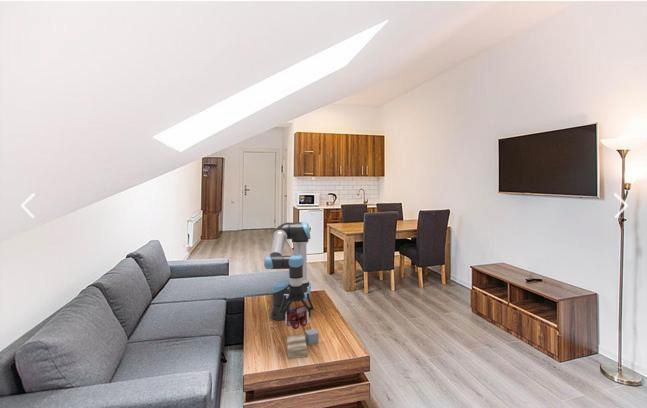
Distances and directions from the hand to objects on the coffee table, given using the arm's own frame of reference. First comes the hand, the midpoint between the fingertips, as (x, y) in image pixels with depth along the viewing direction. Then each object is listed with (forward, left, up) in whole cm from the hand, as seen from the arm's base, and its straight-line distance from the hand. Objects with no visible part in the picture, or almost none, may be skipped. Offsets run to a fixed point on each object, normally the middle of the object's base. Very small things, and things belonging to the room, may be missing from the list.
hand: (297, 323), depth 168 cm
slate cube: (-7, +9, -15) cm, 19 cm away
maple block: (0, 0, -16) cm, 16 cm away
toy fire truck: (0, 0, -2) cm, 2 cm away
